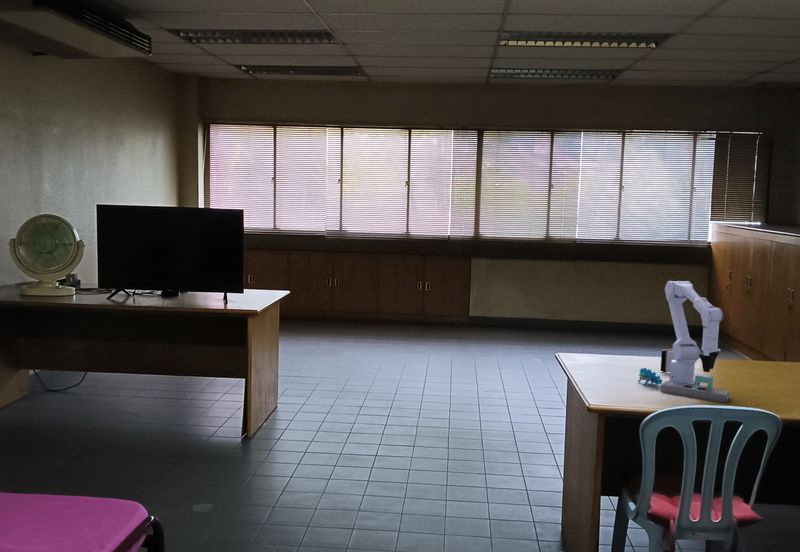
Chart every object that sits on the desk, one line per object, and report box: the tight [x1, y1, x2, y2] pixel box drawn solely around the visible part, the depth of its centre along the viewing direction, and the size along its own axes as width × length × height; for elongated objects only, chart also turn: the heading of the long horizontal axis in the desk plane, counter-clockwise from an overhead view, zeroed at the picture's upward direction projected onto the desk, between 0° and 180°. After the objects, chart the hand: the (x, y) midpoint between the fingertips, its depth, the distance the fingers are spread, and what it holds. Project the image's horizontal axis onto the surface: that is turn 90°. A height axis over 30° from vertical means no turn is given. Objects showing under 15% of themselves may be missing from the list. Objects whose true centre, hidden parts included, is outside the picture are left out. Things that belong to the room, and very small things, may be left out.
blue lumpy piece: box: [637, 367, 663, 386], centre depth 287 cm, size 11×6×10 cm
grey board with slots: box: [660, 380, 731, 404], centre depth 273 cm, size 24×8×3 cm, turn 54°
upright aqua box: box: [694, 374, 714, 389], centre depth 280 cm, size 6×3×6 cm, turn 54°
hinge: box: [660, 348, 675, 373], centre depth 315 cm, size 14×5×10 cm, turn 135°
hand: (708, 370), depth 279 cm, fingers open, 7 cm apart
